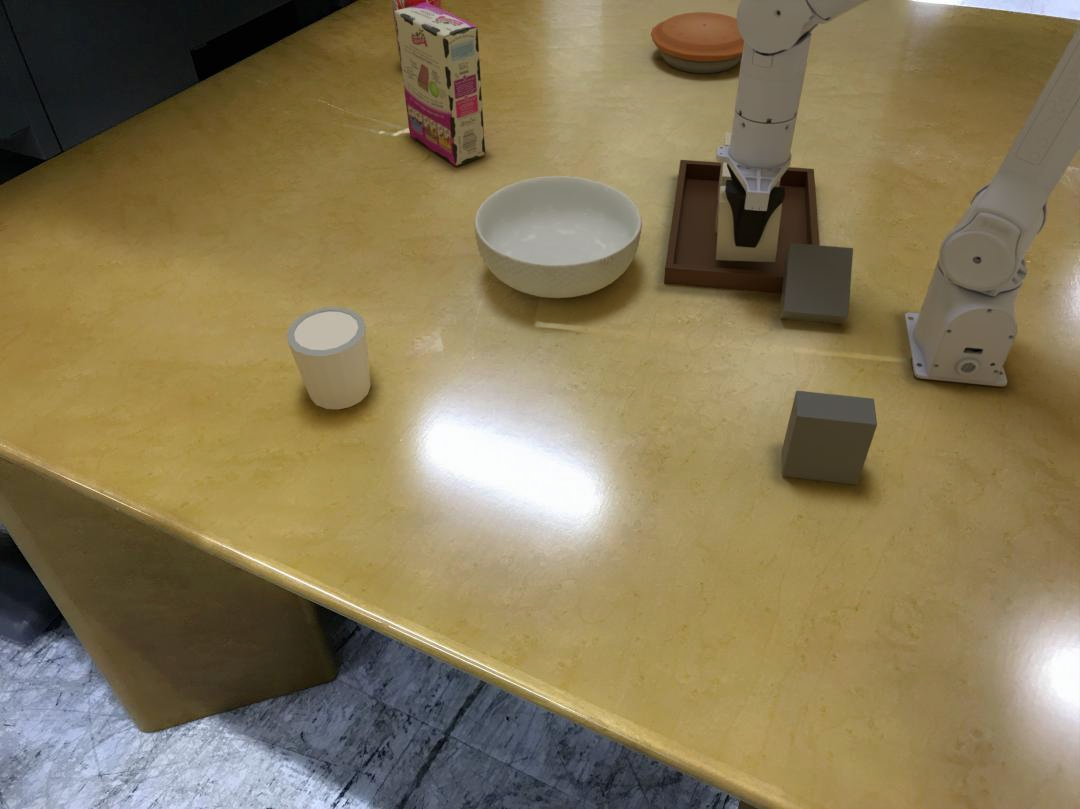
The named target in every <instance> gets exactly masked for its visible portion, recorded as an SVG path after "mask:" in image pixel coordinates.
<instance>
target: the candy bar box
mask: <svg viewBox="0 0 1080 809" xmlns="http://www.w3.org/2000/svg"><path fill="white" fill-rule="evenodd" d="M394 12H395V18H396V26H397V34H398V42H399V51H400V57H399V60H400V59H401V61H400V66H401V74H402V81H403V90H404V98H405V108H406V115H407V122H408V123H407V124H408V131H409V137H410V138H412V139H413V140H415V141H416V142H418V143H419V144H421V145H423V146H424V147H426V148H427V149H429V150H430V151H432V152H434V153H435V154H437V155H438V156H440V157H441V158H442V159H445V160H446V161H448V162H449V163H450V164H452V165H454V166H456V167H458V166H462V165H463V164H466V163H469V162H472V161H475V160H478V159H480V158H483V157H485V156H486V144H485V127H484V126H485V125H484V112H483V95H482V78H481V64H480V63H481V61H480V46H479V31H478V28H479V27H478V25H477V24H476V25H475V24H473V23H471V22H469V21H467V20H465V19H463V18H460V17H458V16H456V15H454V14H452V13H450V12H449V11H446V10H444V9H443V8H442V9H439V8H437V7H435V6H433V5H431V4H429V3H427V2H425V3H421V4H417V5H413V6H410V7H406V8H403V9H400V10H396V11H394Z"/></svg>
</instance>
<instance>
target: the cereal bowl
mask: <svg viewBox="0 0 1080 809" xmlns="http://www.w3.org/2000/svg"><path fill="white" fill-rule="evenodd" d="M642 220H643V219H642V215H641V212H640V210H639V209H638V206H637V204H636V203H635V202H634V201H633V200H632V199H631V198H630V197H629V196H628V195H627V194H625V193H624V192H622V191H620V190H619V189H617V188H615V187H613V186H611V185H608V184H606V183H604V182H602V181H601V182H600V181H597V180H594V179H589V178H585V177H578V176H569V175H566V176H565V175H551V176H550V175H549V176H539V177H532V178H528V179H523V180H520V181H517V182H513V183H511V184H508V185H506V186H504V187H501V188H500V189H497V191H494V192H493V193H492V194H490V195H489V196H488V197H487V198H486V199H485V200H483V202H482V203H481V204H480V206H479V207H478V209H477V211H476V213H475V218H474V232H475V240H476V246H477V248H478V252H479V254H480V257H481V258H482V261H483V263H484V264H485V265H486V267H487V269H488V270H489V271H490V272H491V273H492V274H493V275H494V276H495V277H496V278H497V279H498V280H499V281H501V282H502V283H503V284H504V285H507V286H508V287H510V288H512V289H514V290H516V291H519V292H521V293H524V294H528V295H531V296H535V297H540V298H547V299H563V298H565V299H566V298H567V299H568V298H575V297H581V296H584V295H589V294H592V293H594V292H597V291H599V290H602V289H603V288H606V287H608V285H611V284H613V283H614V282H615V281H616V280H617V279H619V278H620V277H621V276H622V275H624V274H625V272H626V271H627V270H628V268H629V267H630V265H631V264H632V262H633V260H634V259H635V256H636V254H637V251H638V248H639V246H640V240H641V234H642V229H643V221H642Z"/></svg>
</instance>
